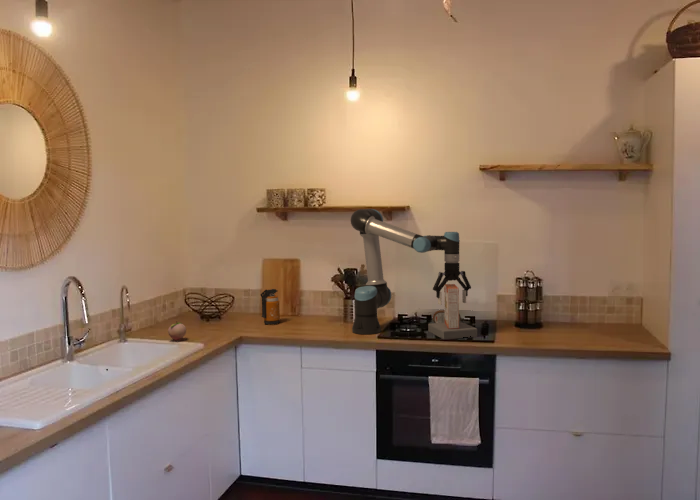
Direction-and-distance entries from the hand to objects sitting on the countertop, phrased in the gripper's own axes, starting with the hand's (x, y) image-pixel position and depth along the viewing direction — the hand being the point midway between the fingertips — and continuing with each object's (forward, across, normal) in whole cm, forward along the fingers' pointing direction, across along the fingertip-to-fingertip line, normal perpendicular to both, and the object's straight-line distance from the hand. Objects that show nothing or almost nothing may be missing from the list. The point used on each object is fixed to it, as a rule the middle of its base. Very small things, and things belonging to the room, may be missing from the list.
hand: (452, 303), depth 299 cm
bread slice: (+16, +6, +20) cm, 26 cm away
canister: (+16, -86, +58) cm, 105 cm away
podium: (+16, 0, 0) cm, 16 cm away
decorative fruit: (+16, -136, +31) cm, 140 cm away
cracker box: (+12, 0, 0) cm, 12 cm away
